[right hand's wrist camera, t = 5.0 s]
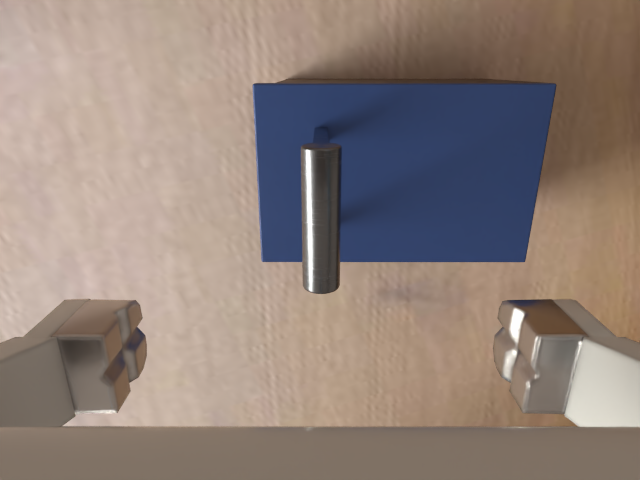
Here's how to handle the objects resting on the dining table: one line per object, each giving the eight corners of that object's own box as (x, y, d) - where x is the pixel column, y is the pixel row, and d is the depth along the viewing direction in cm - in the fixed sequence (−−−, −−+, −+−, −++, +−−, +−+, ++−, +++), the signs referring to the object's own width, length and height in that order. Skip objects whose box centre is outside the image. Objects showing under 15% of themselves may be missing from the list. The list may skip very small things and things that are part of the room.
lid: (263, 255, 26) (238, 336, 18) (255, 83, 23) (219, 90, 15) (517, 255, 26) (603, 336, 18) (547, 83, 23) (668, 90, 15)
